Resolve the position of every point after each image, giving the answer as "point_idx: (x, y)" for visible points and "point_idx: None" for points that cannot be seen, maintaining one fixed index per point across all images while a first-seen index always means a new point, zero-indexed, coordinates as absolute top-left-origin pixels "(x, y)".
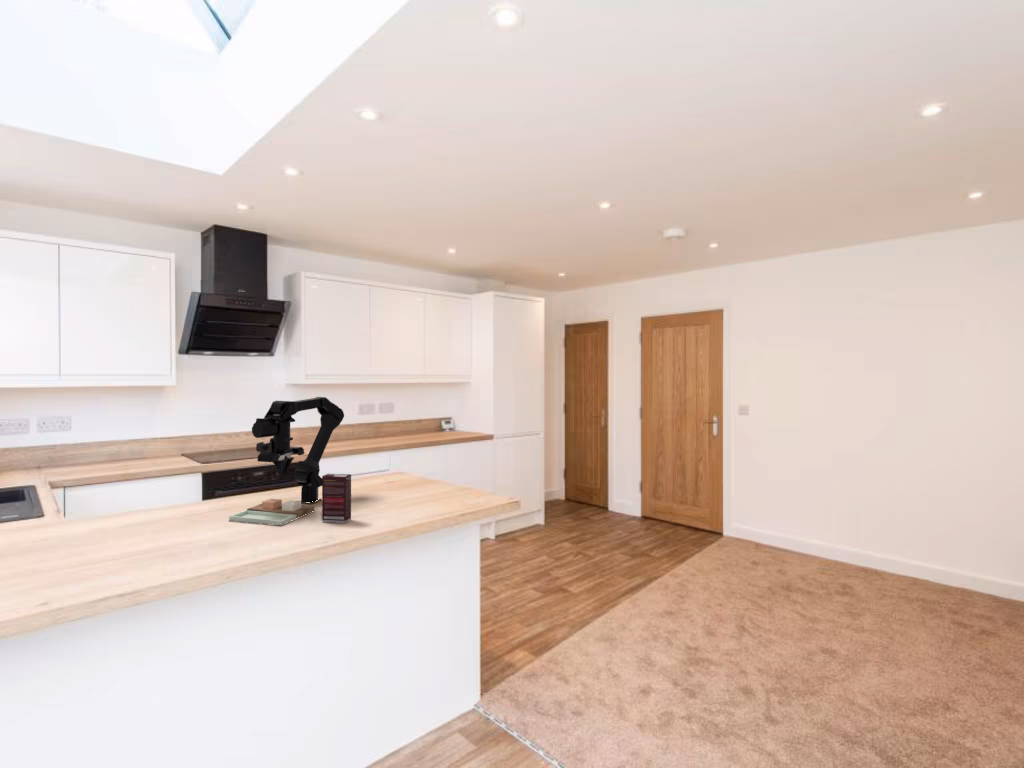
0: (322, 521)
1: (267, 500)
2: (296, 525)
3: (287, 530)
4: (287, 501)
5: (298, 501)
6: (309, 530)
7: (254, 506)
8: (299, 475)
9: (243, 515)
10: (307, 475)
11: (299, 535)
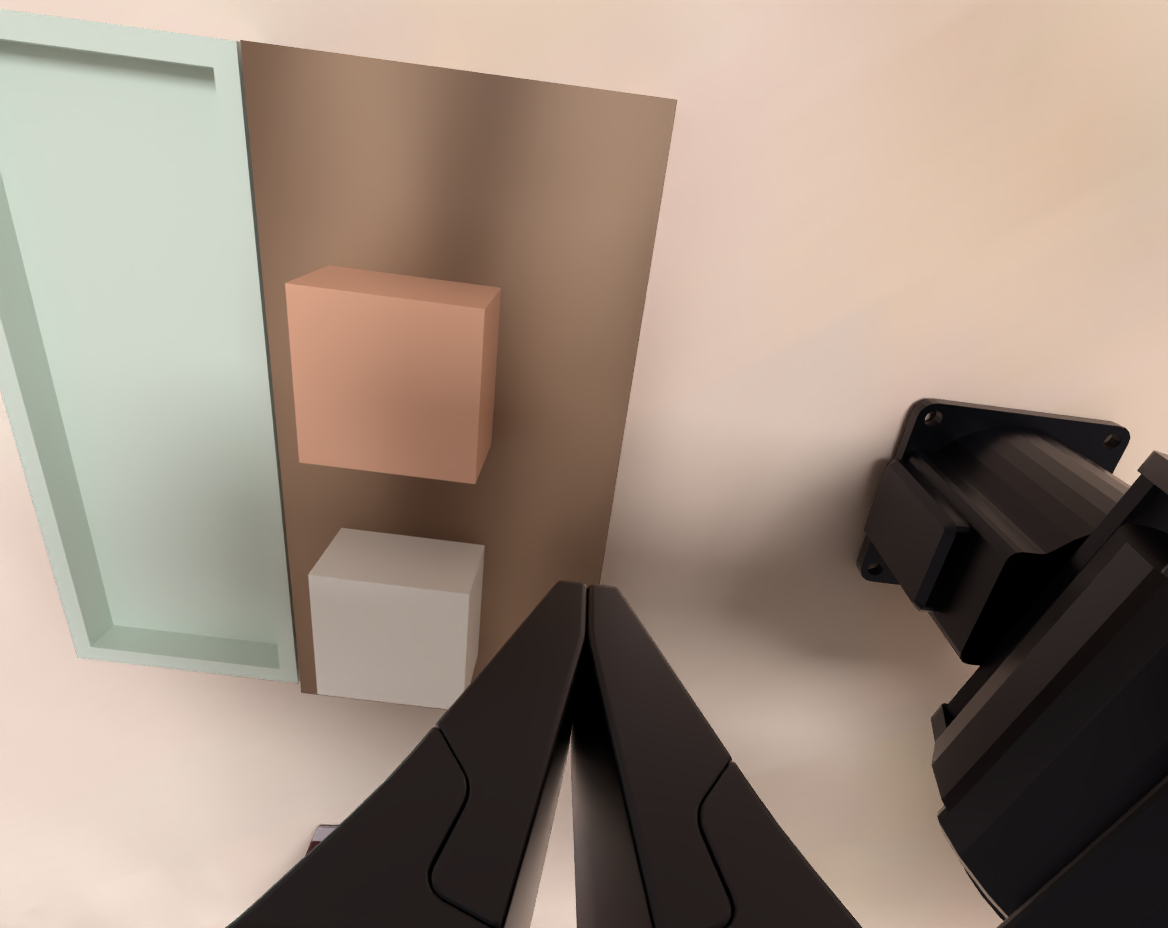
0: (315, 832)
1: (369, 322)
2: (181, 714)
3: (54, 709)
4: (405, 592)
5: (443, 692)
6: (130, 818)
7: (390, 71)
8: (1076, 712)
9: (173, 69)
10: (972, 871)
11: (17, 806)
